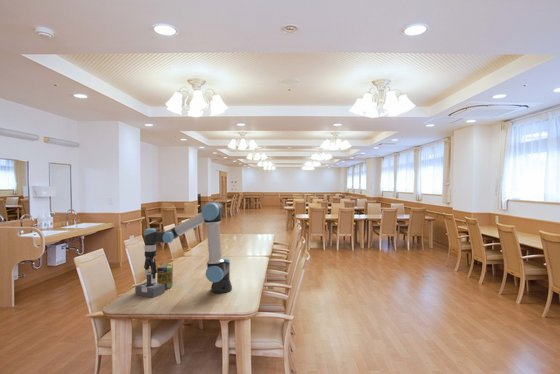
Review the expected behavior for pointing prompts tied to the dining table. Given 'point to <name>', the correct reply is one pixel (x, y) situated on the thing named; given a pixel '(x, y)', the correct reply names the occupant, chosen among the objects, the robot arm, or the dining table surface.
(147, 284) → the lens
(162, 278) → the protein box
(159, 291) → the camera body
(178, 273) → the dining table surface
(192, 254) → the dining table surface
